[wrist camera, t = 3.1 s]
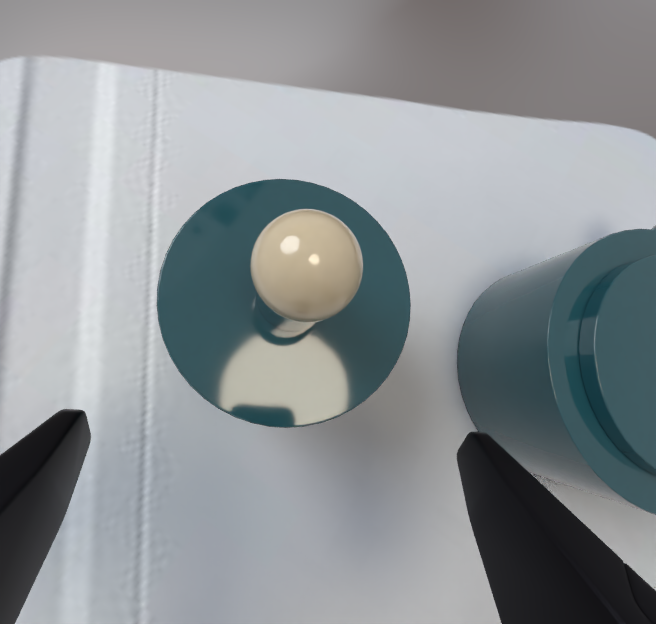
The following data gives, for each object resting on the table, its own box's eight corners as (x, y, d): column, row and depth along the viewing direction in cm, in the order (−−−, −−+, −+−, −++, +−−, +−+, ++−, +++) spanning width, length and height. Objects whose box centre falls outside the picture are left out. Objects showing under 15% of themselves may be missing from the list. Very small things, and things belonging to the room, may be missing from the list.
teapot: (642, 547, 23) (838, 631, 15) (420, 406, 22) (514, 421, 14) (715, 307, 28) (896, 279, 20) (535, 178, 26) (654, 95, 19)
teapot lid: (330, 474, 13) (388, 543, 8) (102, 336, 13) (-14, 302, 7) (442, 269, 16) (548, 209, 10) (254, 142, 15) (257, 2, 9)
